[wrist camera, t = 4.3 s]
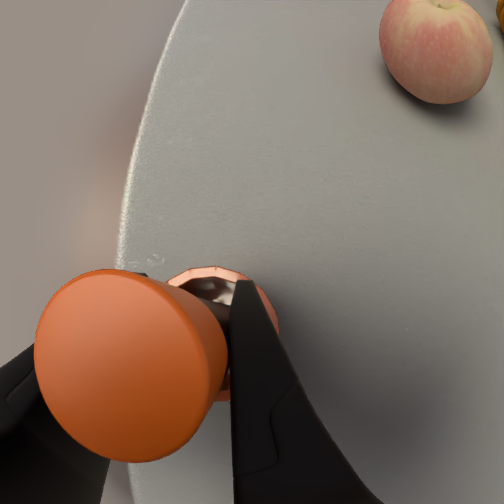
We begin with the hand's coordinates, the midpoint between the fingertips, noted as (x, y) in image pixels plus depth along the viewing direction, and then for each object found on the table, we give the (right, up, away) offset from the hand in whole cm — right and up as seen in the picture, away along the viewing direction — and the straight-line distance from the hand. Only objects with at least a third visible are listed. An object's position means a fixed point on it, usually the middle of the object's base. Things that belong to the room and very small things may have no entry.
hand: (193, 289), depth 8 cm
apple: (+13, +13, +10) cm, 22 cm away
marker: (0, -3, +7) cm, 8 cm away
